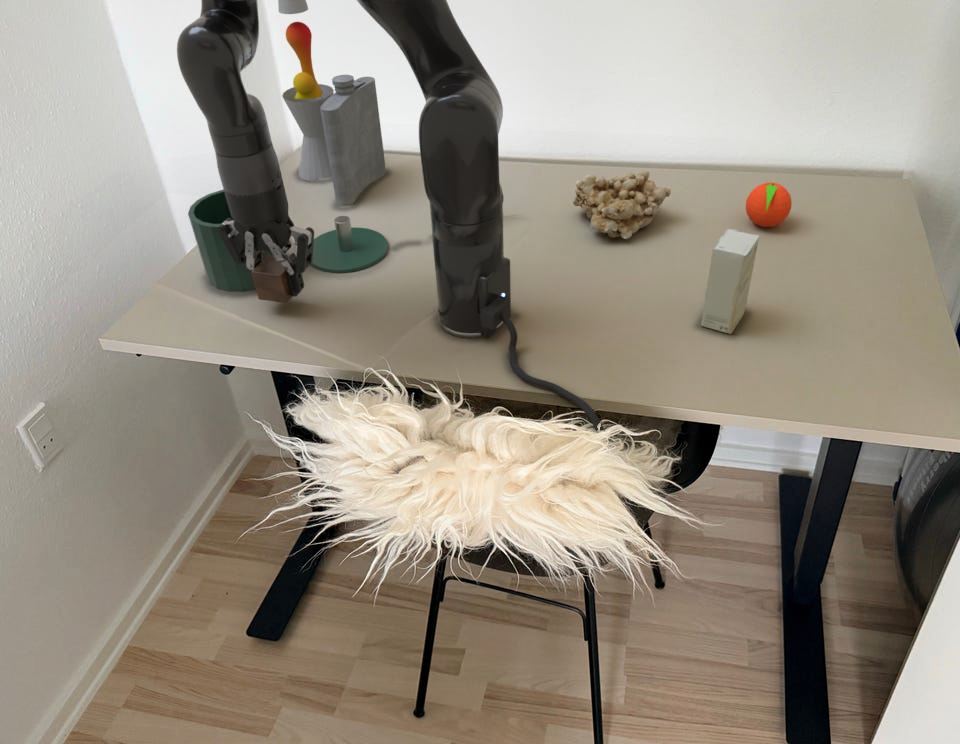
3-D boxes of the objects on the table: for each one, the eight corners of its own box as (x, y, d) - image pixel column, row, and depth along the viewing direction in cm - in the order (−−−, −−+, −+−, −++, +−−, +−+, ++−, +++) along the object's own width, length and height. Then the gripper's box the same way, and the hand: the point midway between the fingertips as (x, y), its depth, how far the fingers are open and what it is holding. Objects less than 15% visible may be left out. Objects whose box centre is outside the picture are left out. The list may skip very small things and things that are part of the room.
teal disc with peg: (404, 245, 128) (400, 211, 124) (353, 284, 120) (347, 248, 116) (342, 226, 134) (337, 193, 130) (289, 262, 125) (281, 227, 121)
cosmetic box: (730, 335, 106) (746, 257, 99) (698, 326, 108) (711, 248, 101) (745, 311, 110) (761, 234, 103) (714, 303, 112) (727, 226, 105)
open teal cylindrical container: (303, 264, 125) (289, 198, 117) (247, 303, 117) (228, 234, 110) (249, 245, 130) (232, 180, 123) (191, 281, 122) (170, 214, 115)
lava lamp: (305, 161, 154) (267, -37, 132) (350, 161, 154) (320, -38, 131) (292, 181, 148) (250, -24, 125) (339, 182, 147) (306, -25, 124)
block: (302, 285, 114) (296, 258, 111) (287, 303, 111) (280, 275, 108) (274, 282, 115) (267, 254, 112) (258, 299, 112) (250, 271, 109)
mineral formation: (567, 209, 135) (649, 191, 137) (596, 259, 127) (683, 238, 129) (568, 170, 129) (654, 150, 131) (599, 219, 120) (690, 198, 122)
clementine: (784, 241, 125) (793, 199, 120) (738, 234, 127) (746, 193, 122) (788, 217, 130) (798, 177, 126) (745, 211, 132) (752, 171, 128)
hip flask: (349, 209, 138) (331, 95, 126) (329, 206, 139) (309, 93, 127) (389, 171, 150) (376, 62, 137) (369, 168, 151) (355, 60, 138)
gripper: (187, 187, 101) (222, 299, 112) (287, 198, 97) (313, 312, 108) (219, 162, 107) (250, 271, 117) (315, 171, 103) (337, 282, 114)
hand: (280, 290), depth 113 cm, fingers closed on block, 4 cm apart
